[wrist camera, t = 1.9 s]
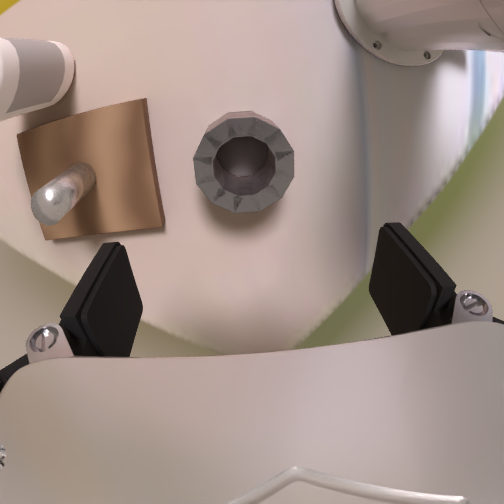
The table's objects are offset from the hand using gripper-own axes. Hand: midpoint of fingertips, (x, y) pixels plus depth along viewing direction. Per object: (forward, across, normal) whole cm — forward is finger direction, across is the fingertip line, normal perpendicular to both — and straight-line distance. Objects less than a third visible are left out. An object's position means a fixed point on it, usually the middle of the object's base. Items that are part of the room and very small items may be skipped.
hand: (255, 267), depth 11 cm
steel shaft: (+17, +15, 0) cm, 22 cm away
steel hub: (+18, 0, 0) cm, 18 cm away
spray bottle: (+18, +18, -11) cm, 28 cm away
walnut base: (+18, +15, 0) cm, 24 cm away
